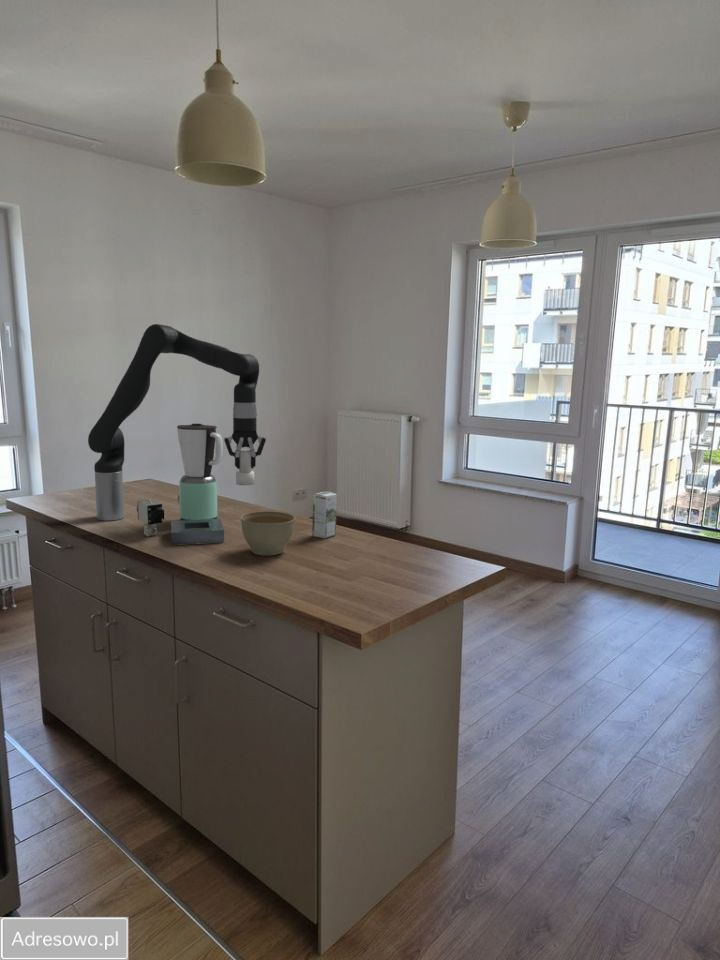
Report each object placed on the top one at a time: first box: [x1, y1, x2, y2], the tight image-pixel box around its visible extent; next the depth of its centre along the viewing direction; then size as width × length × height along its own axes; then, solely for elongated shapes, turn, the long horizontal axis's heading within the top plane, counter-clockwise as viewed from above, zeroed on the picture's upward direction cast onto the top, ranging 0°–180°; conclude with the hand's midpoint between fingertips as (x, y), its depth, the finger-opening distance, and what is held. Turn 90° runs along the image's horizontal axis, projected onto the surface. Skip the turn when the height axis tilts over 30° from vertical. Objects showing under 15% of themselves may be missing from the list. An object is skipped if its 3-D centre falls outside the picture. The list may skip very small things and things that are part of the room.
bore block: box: [170, 518, 225, 546], centre depth 208 cm, size 16×16×4 cm
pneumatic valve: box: [136, 498, 165, 538], centre depth 209 cm, size 6×12×12 cm, turn 40°
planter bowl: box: [240, 510, 296, 557], centre depth 194 cm, size 16×16×11 cm
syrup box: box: [311, 491, 338, 539], centre depth 213 cm, size 6×6×14 cm
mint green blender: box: [176, 423, 224, 520], centre depth 226 cm, size 19×13×35 cm
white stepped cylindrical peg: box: [235, 449, 255, 486], centre depth 212 cm, size 6×6×11 cm
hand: (245, 468), depth 212 cm, fingers closed on white stepped cylindrical peg, 4 cm apart
